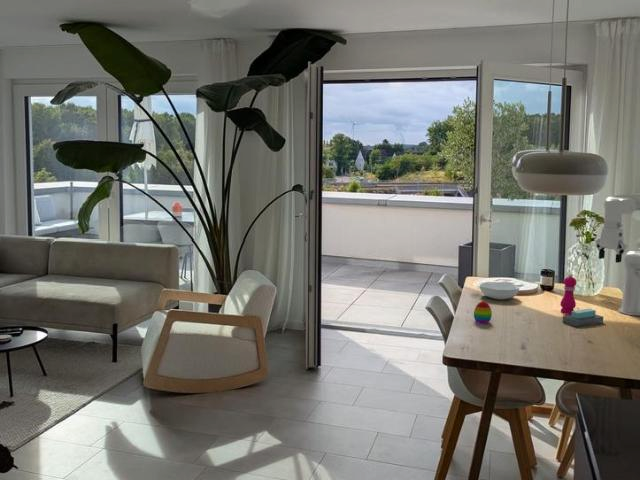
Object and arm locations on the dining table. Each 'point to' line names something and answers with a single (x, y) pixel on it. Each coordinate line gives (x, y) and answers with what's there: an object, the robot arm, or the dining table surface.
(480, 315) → the decorative egg
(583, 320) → the rail
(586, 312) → the clip
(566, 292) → the pepper mill
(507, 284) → the serving bowl
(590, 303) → the dining table surface
